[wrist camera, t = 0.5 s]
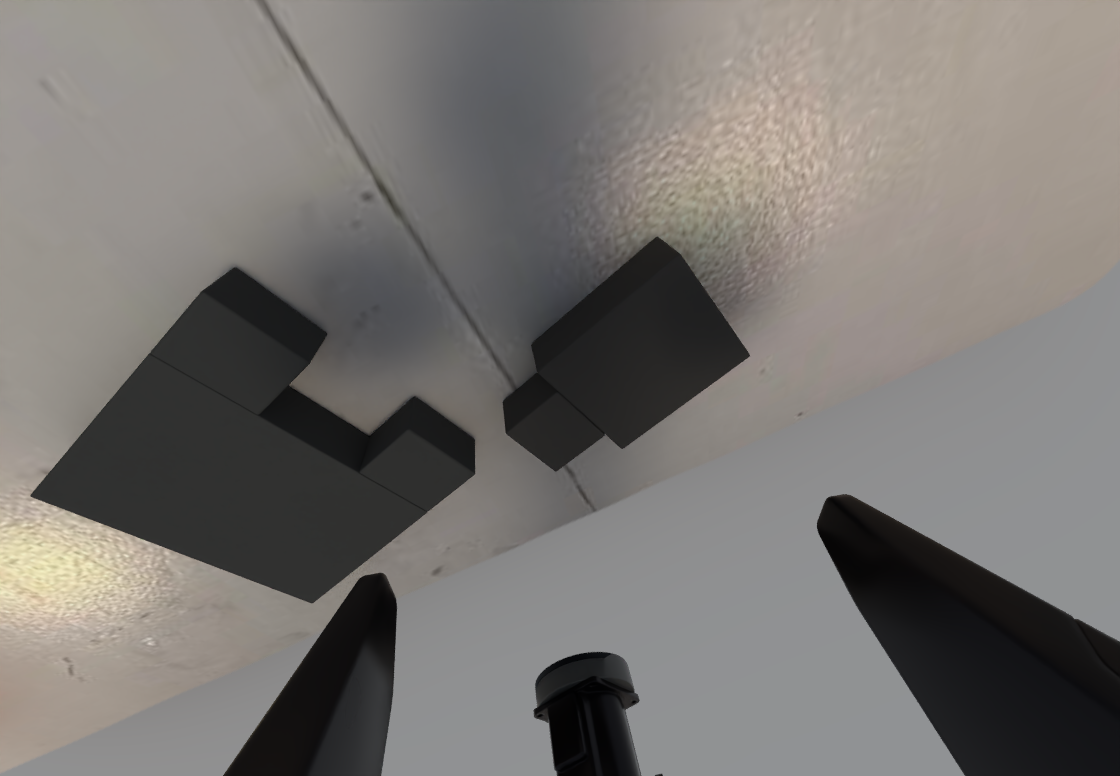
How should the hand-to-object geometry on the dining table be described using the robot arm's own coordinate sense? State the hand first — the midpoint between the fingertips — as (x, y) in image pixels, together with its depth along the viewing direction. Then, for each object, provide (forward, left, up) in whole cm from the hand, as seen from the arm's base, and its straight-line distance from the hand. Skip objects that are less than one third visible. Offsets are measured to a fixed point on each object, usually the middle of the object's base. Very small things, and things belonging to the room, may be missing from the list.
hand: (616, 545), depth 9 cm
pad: (-4, -1, -12) cm, 13 cm away
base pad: (+3, +13, -12) cm, 18 cm away
